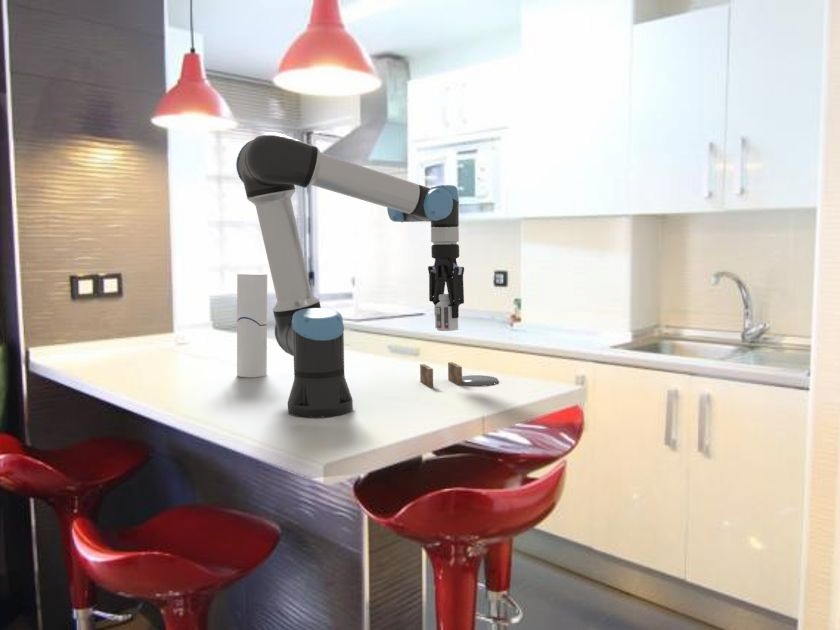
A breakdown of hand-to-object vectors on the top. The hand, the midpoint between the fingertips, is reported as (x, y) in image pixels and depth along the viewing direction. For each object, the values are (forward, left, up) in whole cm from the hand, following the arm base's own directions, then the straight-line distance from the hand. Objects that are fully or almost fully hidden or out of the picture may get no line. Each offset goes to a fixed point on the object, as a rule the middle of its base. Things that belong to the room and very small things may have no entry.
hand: (446, 328), depth 191 cm
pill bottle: (0, 0, -1) cm, 1 cm away
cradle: (0, +2, -15) cm, 15 cm away
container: (+31, +51, -15) cm, 61 cm away
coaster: (-1, -8, -15) cm, 17 cm away
